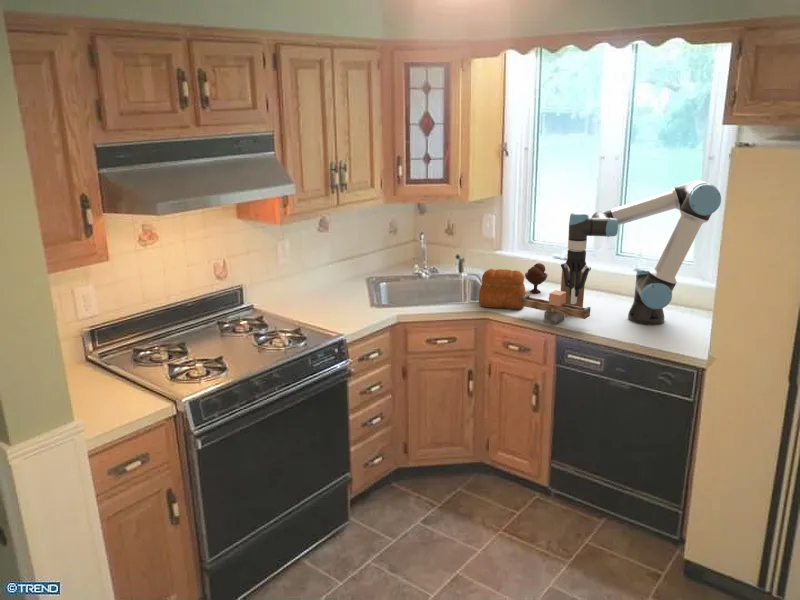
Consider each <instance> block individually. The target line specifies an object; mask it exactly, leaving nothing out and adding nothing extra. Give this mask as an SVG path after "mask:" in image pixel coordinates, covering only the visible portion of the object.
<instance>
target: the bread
mask: <svg viewBox="0 0 800 600" xmlns="http://www.w3.org/2000/svg"><path fill="white" fill-rule="evenodd" d="M524 277H525V275H524V274H523V273H522V272H521V271H520V270H516V269H515V270H511V269H502V268H501V269H500V268H499V269H493V268H490V269H487V270H486V271H484V272H483V274H482V277H481V285H480V289H479V293H478V305H479V306H481V307H484V308H495V309H503V308H504V309H510V310H512V309H513V310H520V309H523V308H524V306H522V297H524V296H526V287H525V284H524V281H525V278H524Z"/></svg>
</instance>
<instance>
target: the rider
mask: <svg viewBox="0 0 800 600" xmlns="http://www.w3.org/2000/svg"><path fill="white" fill-rule="evenodd" d="M548 301H549V304H550V305H555V306H563V304H565V303H566V292H563V291H561V290H558V289H557V290H556V289H555V290H552V291H551V292H549V295H548Z"/></svg>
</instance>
